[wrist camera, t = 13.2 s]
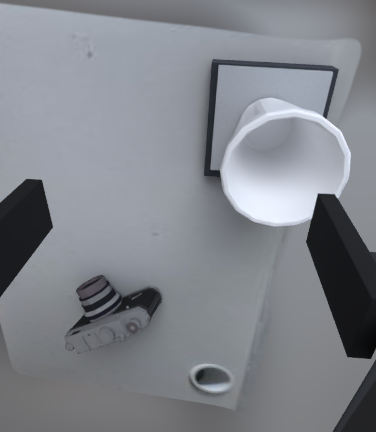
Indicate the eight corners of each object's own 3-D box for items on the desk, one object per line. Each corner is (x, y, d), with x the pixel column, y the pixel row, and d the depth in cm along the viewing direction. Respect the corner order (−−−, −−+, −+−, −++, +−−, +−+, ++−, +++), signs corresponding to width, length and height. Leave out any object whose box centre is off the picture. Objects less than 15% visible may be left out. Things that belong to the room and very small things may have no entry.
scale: (212, 59, 38) (211, 63, 35) (332, 65, 37) (342, 71, 34) (205, 167, 45) (203, 180, 41) (306, 175, 44) (312, 188, 41)
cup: (236, 178, 41) (241, 240, 30) (208, 98, 37) (201, 137, 26) (321, 151, 39) (360, 209, 28) (302, 62, 34) (340, 88, 23)
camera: (142, 254, 55) (116, 284, 46) (166, 299, 56) (146, 336, 47) (69, 285, 60) (32, 317, 51) (93, 325, 62) (61, 363, 52)
